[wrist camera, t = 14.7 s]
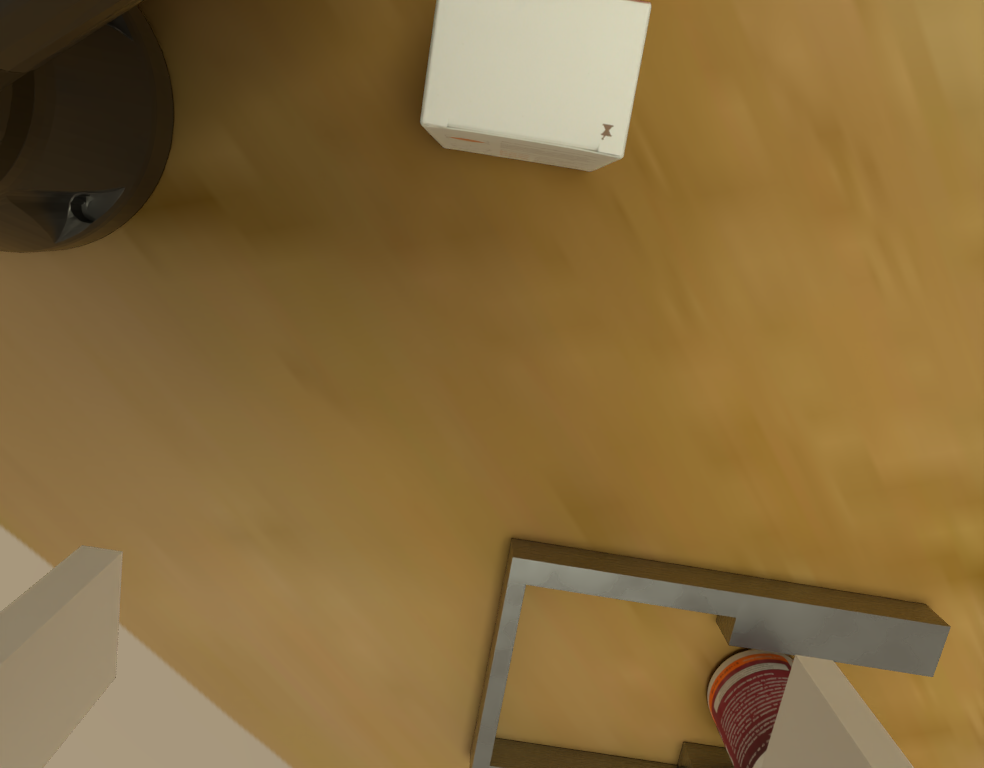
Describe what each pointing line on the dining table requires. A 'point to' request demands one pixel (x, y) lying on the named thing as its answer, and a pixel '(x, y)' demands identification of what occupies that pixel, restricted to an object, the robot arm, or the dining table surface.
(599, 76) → the small box
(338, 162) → the dining table surface
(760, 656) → the pill bottle
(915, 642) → the grey u-shaped frame
